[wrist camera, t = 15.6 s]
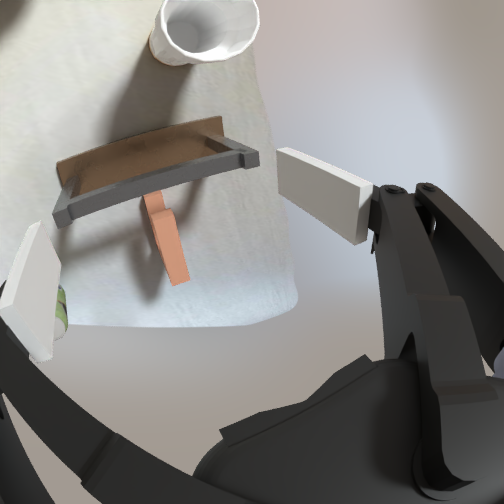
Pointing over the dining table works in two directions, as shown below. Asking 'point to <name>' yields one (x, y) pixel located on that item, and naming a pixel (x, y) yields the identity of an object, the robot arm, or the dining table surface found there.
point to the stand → (146, 166)
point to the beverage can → (60, 315)
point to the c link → (167, 238)
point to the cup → (203, 30)
